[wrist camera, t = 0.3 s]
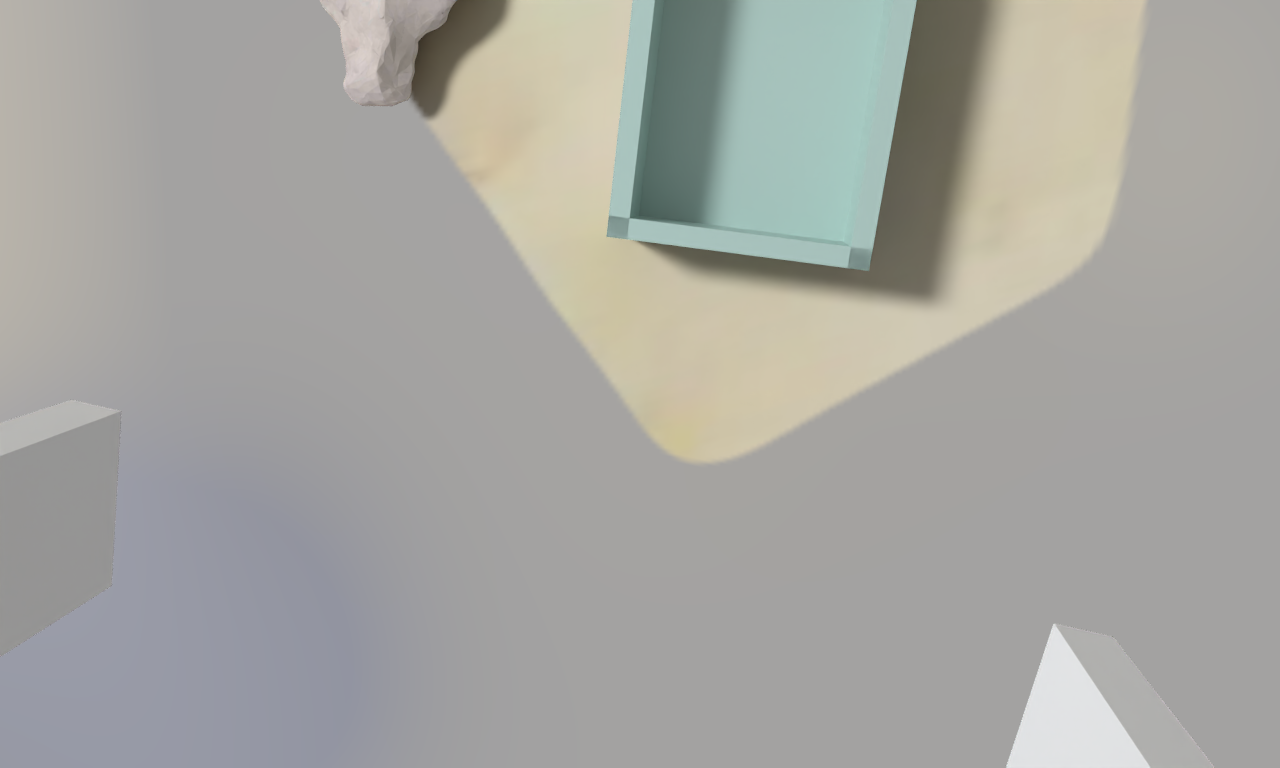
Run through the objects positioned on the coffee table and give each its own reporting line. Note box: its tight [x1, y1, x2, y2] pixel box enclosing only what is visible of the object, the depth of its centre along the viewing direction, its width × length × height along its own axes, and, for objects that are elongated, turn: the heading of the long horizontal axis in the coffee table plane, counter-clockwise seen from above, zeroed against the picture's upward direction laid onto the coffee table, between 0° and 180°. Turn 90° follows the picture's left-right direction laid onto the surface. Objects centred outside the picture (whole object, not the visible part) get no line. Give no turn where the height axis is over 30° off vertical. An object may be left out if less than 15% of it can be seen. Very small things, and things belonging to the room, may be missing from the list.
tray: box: [607, 0, 917, 271], centre depth 35 cm, size 12×10×3 cm
